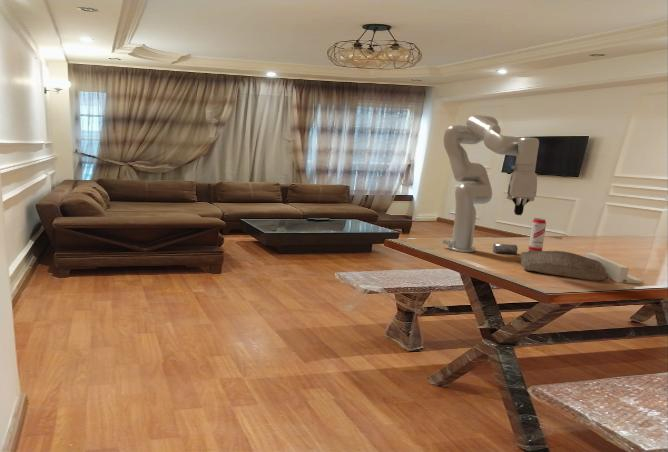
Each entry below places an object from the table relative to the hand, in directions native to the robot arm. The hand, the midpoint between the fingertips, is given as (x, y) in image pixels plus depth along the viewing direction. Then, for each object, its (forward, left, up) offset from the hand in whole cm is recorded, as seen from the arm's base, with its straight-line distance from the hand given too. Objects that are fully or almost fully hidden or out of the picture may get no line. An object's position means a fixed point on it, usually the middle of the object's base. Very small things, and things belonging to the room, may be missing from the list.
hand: (518, 214), depth 181 cm
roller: (+8, +29, -21) cm, 37 cm away
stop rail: (+42, -1, -22) cm, 47 cm away
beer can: (+27, +37, -22) cm, 51 cm away
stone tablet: (+20, -1, -23) cm, 30 cm away
